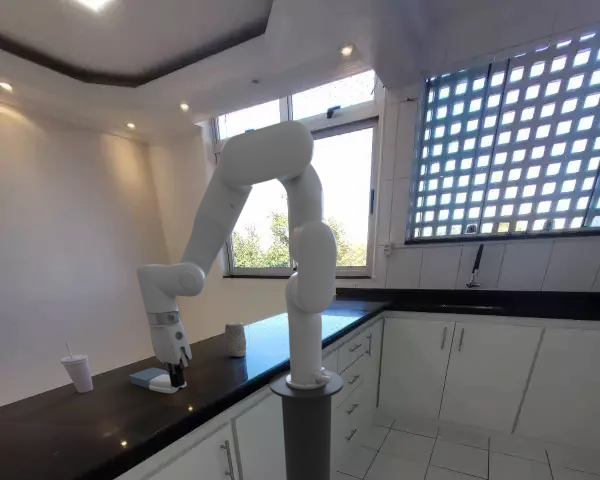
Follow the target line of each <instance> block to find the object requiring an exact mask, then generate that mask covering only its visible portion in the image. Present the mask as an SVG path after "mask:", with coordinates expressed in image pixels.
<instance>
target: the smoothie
mask: <svg viewBox="0 0 600 480" xmlns="http://www.w3.org/2000/svg"><path fill="white" fill-rule="evenodd" d="M65 346H66V349H67V351H68V353H69V355H68V356H65V357H62V358H61V359H59V361H60V364H61V365H63V367H64V368H65V370H66V373H67V374H68V376H69V378H70V379H71V382H72V383H73V385H74V387H75V388H76V391H77V393H79V394H80V393H81V394H83V393H89V392H90V391H91V392H92V391H93V390H94V385H93V379H92V374H91V369H90V364H89V356H88V354H84V353H83V354H82V353H80V354H79V353H77V354H73V352H72V349H71V347H70V344H69V342H68V341H67V342H65Z"/></svg>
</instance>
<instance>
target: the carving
mask: <svg viewBox="0 0 600 480" xmlns="http://www.w3.org/2000/svg"><path fill="white" fill-rule="evenodd" d="M224 335H225V344H226V352H227V354H228V356H230V357H235V358H236V357H237V358H241V357H242V358H243V357H245V356H246V355H247V339H246V338H247V337H246V333H245V325H244V323H243V322H241V321H231V322H226V323H225V326H224Z"/></svg>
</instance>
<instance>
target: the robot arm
mask: <svg viewBox="0 0 600 480" xmlns="http://www.w3.org/2000/svg"><path fill="white" fill-rule="evenodd" d="M314 154H315V140H314V137H313V135H312V133H311V130H310V129H309V128H308V127H307V126H306V124H304V123H302V122H301V121H298V120H294V119H293V120H292V119H291V120H284V121H280V122H277V123H274V124H271V125H266V126H264V127H260V128H256V129H253V130H249V131H246V132H242V133H239V134H236V135H234V136H232V137H230V138H228V139H227V140H226V141H225V142H224V143H223V146H222V147H221V150H220V154H219V158H218V161H217V163H216V166H215V168H214V170H213V173H212V175H211V178H210V180H209V182H208V183H207V184H208V185H207V187H206V188H205V191H204V194H203V196H202V198H201V201H200V203H199V205H198V207H197V210H196V212H195V215H194V219H193V226H192V228H191V232H190V236H189V238H188V241H187V243H186V246H185V248H184V251H183V253H182V255H181V258H180V260H179V262H178V263H175V264H170V265H167V264H164V263H149V264H140V265H138V266H137V267H136V272H135V273H136V278H137V281H138V286H139V289H140V295H141V298H142V302H143V306H144V311H145V314H146V319H147V323H148V326H149V333H150V339H151V344H152V349H153V354H154V357H155V358H156V359H157V360H158V361H159V363H161V364H163V365H164V367H165V369H166V371H167V372H168V373H169V377H170V381H171V386H172V387H175V388H177V387H179V388H181V387H182V385H184V384H185V382H186V381H185V376H184V371H185V369H188V368H190V367H189V364H188V362H190V361H192V359H193V355H192V351H191V346H190V342H189V339H188V338H189V337H188V335H187V332H186V330H185V326H184V325H183V323H182V321H181V315H180V311H179V306H178V305H179V304H178V300H177V296H178V297H188V298H189V297H191V298H192V297H196V296H198V295H200V294H201V293H202V292H204V289H205V287H206V283H207V282H206V281H207V279H208V277H209V274H210V272H211V270H212V268H213V266H214V264H215V261H216V260H217V258H218V255H219V253H220V252H221V250H222V249H223V247H224V246H225V245H226V243H227V242H228V240H229V239H230V237H231V235H232V234H233V231H234V229H235V227H236V225H237V223H238V220H239V218H240V215H241V214H242V212H243V210H244V207H245V205H246V203H247V201H248V199H249V196H251V192H252V191H253V188H254V186H255V185H257V184H261V183H265V182H269V181H273V180H277V181H278V182H279V183H280V184H281V185H282V187H283V188H284V190H285V192H286V195H287V199H288V211H289V212H288V215H289V216H288V253H289V255H290V258H291V259H292V260H293V261H294V262H295V263H296V265H297V268H296V272H294V273H293V274H291V276H289V278H288V280H287V282H286V284H285V289H284V295H285V296H284V297H285V298H284V299H285V304H286V312H287V323H288V325H287V326H288V345H289V346H288V350H289V370H290V375H288V376H287V377H286V384H287V385H288V386H290V387H292V388H296V389H315V388H319V387H321V386H323V385H325V384H326V383H331V382H332V374H326V373H325V370H326V368H325V367H324V366H322V365H323V363H322V362H323V359H322V356H323V355H322V354H323V352H322V351H323V348H322V347H323V335H322V334H323V317H322V313H323V312H325V311H327V309H328V308H329V307H330V305H331V304H332V302H333V299H334V295H335V289H336V288H335V287H336V276H337V275H336V273H337V263H338V261H337V259H338V245H337V244H338V242H337V239H336V235H335V233H334V231H333V229H332V228H331V227H330V226H329V225H328V224H327V223H325V222H324V219H325V218H324V217H325V216H324V214H325V212H324V204H325V203H324V201H325V200H324V199H325V198H324V189H323V184H322V181H321V178H320V176H319V175H318V173H317V171H316V169H315V167H314V166H313V165H312V163H311V162H312V160H313V158H314ZM180 386H181V387H180Z"/></svg>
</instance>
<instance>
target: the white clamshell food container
mask: <svg viewBox="0 0 600 480" xmlns="http://www.w3.org/2000/svg"><path fill="white" fill-rule="evenodd" d="M149 383H150V385H149V388H148V389H149V390H150V391H154V392H158V393H164V394H174V393H176V392H178V391H179V388H181V389H182V388H185V387H187V386H188V385H187V382H186V381H185V384H184V385H182V386H180V387H177V388H175V387H172V386H171V381H170V377H169V375H166V374H162V375H160V376H158V377H155V378H153V379H151V380H150V382H149Z"/></svg>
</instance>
